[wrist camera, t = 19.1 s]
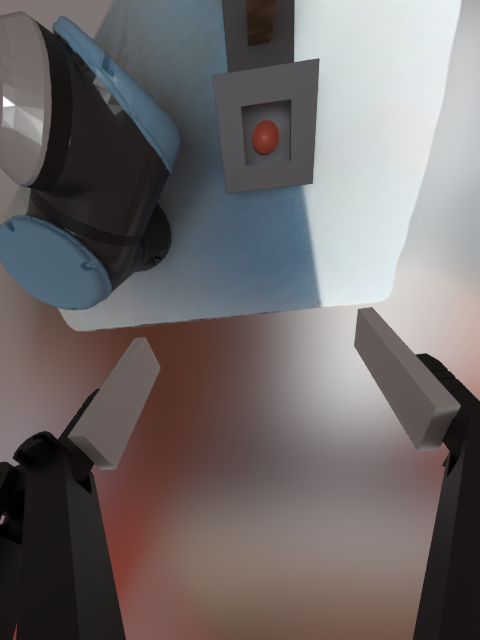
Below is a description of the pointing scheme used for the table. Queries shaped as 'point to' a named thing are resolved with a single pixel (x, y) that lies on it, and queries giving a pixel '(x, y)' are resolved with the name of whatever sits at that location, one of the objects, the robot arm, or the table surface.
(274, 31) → the mat
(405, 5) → the table surface
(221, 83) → the grey box with opening
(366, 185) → the table surface
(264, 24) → the wooden stick
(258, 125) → the red ball
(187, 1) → the table surface
